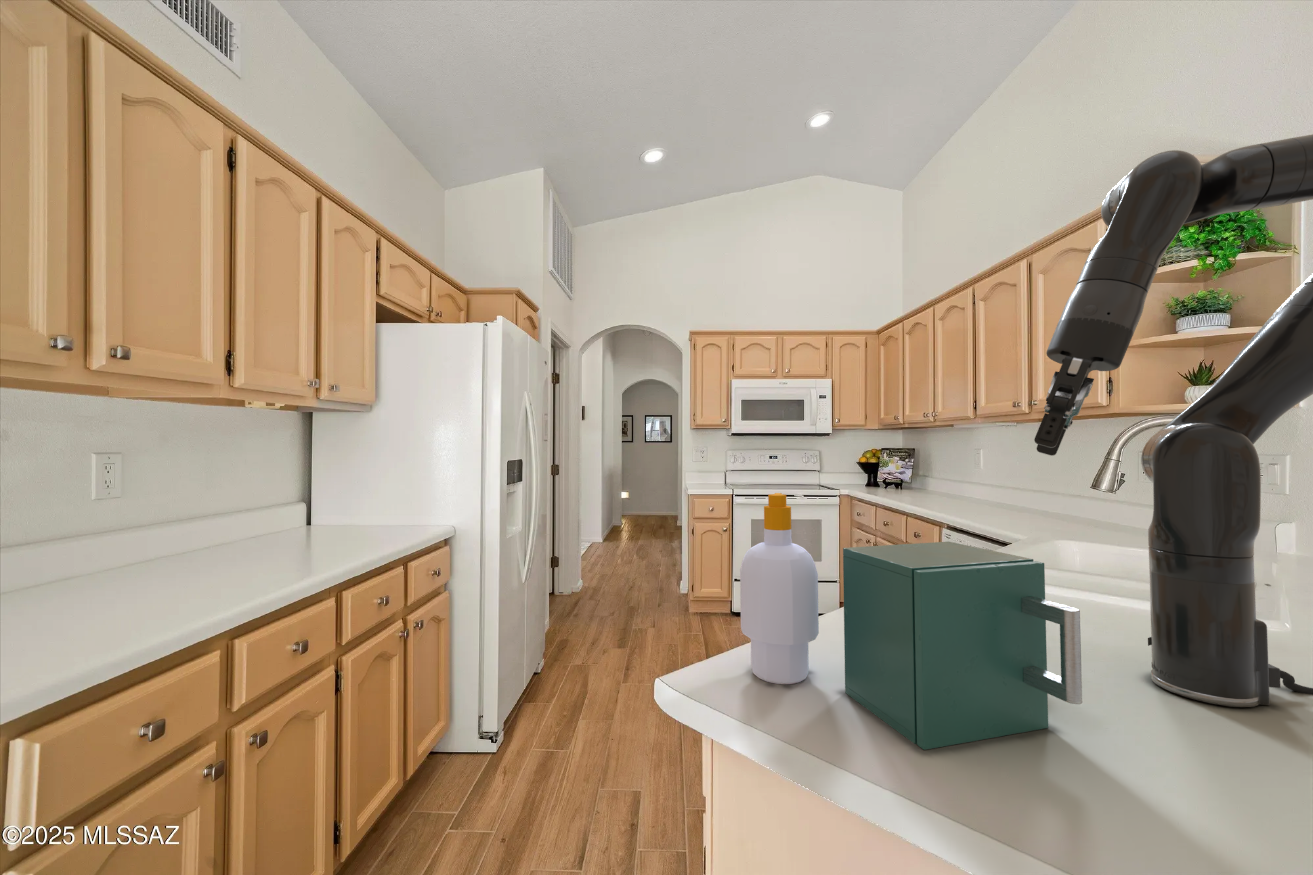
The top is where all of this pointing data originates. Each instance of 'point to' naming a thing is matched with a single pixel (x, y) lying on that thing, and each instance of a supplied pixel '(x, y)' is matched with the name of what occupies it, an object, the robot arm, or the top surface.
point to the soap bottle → (779, 599)
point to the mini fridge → (892, 621)
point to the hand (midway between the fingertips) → (1044, 449)
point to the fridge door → (988, 652)
